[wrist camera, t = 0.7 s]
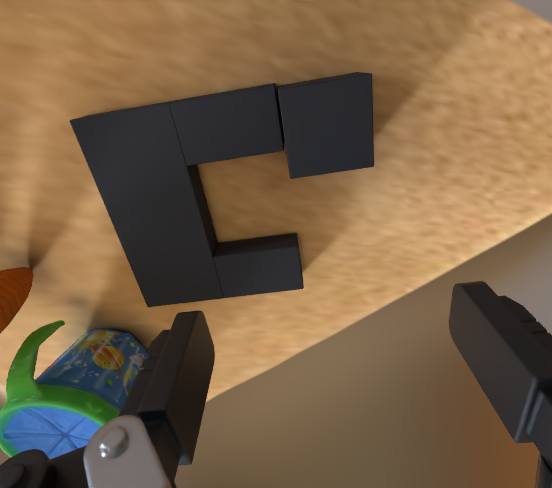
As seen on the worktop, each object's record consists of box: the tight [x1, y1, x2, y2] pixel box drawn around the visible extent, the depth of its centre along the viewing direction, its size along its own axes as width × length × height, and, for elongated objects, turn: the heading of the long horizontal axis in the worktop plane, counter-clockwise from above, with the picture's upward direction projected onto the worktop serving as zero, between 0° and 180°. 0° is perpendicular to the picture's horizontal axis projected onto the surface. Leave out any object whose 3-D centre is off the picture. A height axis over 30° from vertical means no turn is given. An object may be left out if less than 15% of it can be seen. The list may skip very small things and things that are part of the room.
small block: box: [278, 72, 374, 179], centre depth 23 cm, size 6×6×4 cm
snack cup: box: [0, 320, 147, 459], centre depth 32 cm, size 16×10×10 cm
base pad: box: [70, 83, 304, 307], centre depth 27 cm, size 16×14×2 cm
